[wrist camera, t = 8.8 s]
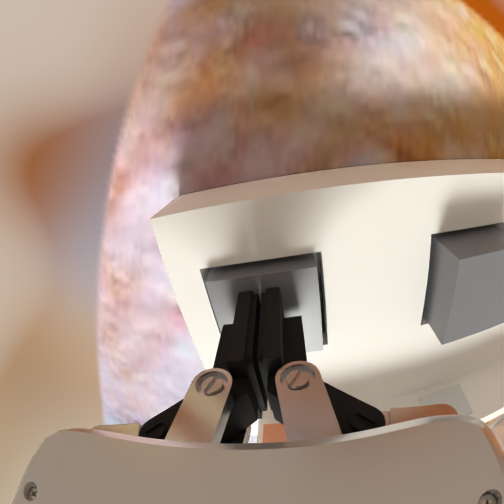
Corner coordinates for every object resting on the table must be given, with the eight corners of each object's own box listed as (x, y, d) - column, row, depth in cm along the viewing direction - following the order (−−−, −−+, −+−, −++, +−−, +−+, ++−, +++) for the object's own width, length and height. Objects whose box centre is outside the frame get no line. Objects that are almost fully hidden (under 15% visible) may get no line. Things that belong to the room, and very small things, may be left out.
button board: (554, 161, 11) (623, 191, 4) (523, 326, 17) (561, 378, 10) (179, 195, 15) (99, 262, 7) (241, 394, 21) (230, 482, 14)
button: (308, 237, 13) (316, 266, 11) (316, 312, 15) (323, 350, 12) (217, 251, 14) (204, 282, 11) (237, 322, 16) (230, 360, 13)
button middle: (489, 221, 11) (524, 244, 8) (478, 292, 13) (504, 322, 10) (426, 231, 11) (459, 259, 9) (418, 308, 13) (441, 344, 10)
